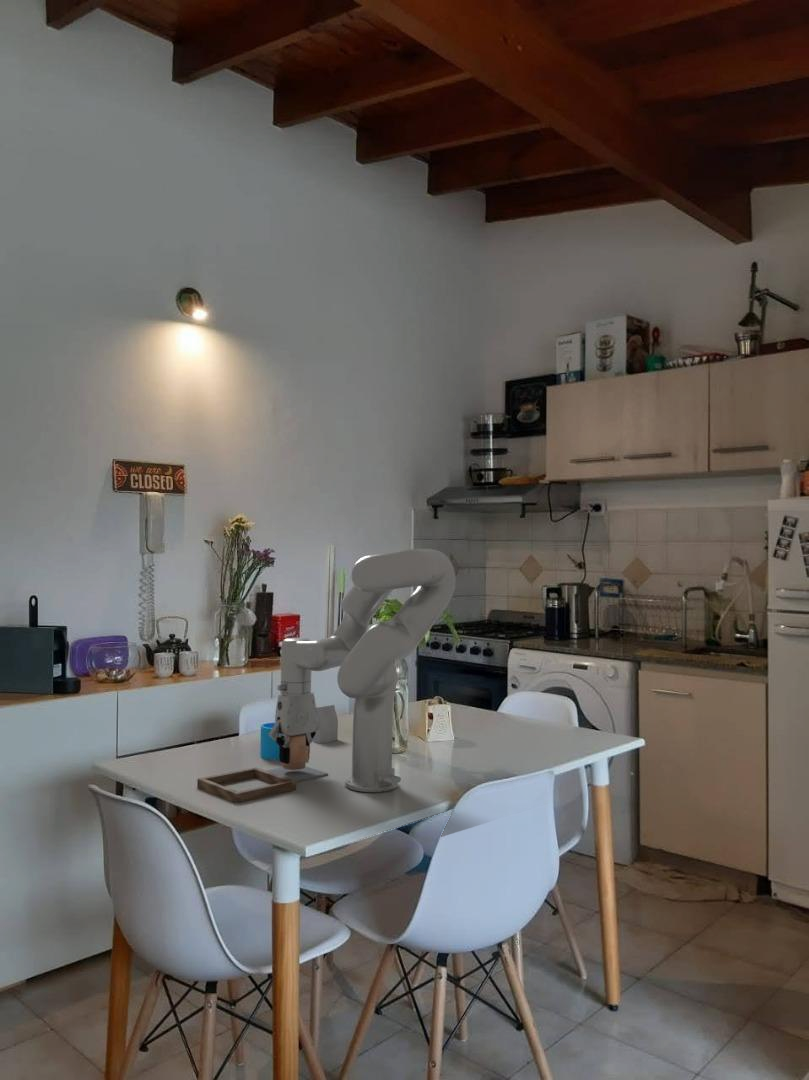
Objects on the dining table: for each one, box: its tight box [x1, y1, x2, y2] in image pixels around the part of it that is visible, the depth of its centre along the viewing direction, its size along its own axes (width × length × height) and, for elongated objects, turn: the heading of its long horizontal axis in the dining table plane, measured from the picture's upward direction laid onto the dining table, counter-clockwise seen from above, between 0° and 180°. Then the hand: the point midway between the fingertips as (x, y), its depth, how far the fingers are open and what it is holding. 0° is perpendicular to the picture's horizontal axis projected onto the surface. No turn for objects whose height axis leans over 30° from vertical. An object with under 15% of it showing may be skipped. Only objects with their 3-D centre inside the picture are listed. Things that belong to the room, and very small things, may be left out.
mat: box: [265, 765, 329, 783], centre depth 222 cm, size 12×12×1 cm
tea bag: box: [312, 704, 339, 744], centre depth 261 cm, size 4×7×10 cm, turn 136°
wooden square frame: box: [196, 767, 297, 804], centre depth 209 cm, size 16×16×2 cm
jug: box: [282, 734, 310, 770], centre depth 221 cm, size 8×6×8 cm
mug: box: [259, 722, 280, 760], centre depth 240 cm, size 12×8×8 cm
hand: (294, 759), depth 222 cm, fingers closed on jug, 5 cm apart
